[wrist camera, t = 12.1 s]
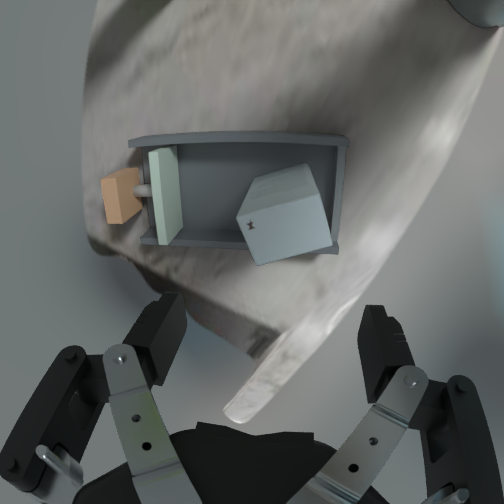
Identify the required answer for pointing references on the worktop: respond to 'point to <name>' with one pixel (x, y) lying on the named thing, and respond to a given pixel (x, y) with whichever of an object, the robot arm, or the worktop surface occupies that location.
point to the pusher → (147, 193)
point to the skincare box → (283, 215)
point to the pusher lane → (241, 179)
